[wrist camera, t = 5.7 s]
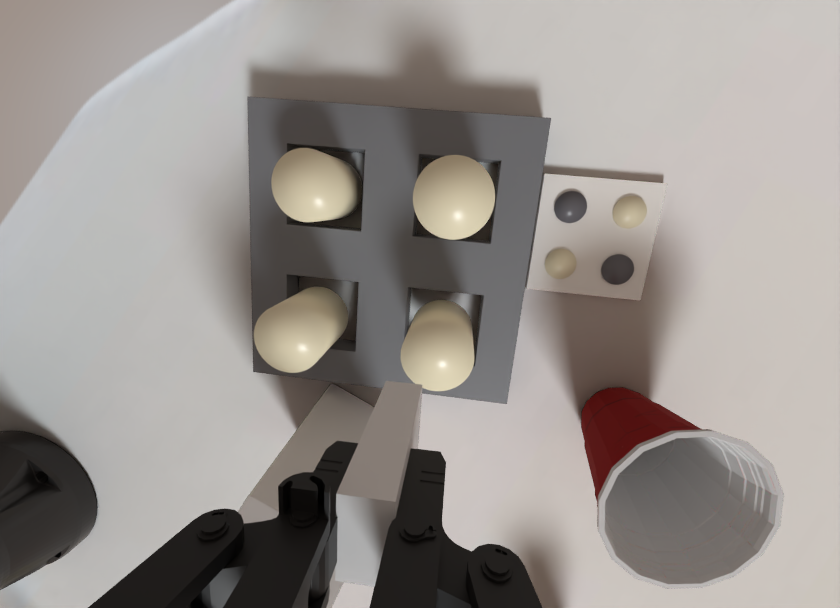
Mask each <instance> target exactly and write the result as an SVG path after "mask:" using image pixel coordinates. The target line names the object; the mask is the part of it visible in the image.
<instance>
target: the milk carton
mask: <svg viewBox="0 0 840 608" xmlns="http://www.w3.org/2000/svg"><path fill="white" fill-rule="evenodd" d="M373 409H374V407H373V406H371V405H369V404H368V403H366V402H364V401H362V400H361V399H359V398H357V397H356V396H354V395H352V394H350V393H349V392H347V391H345V390H343V389H342V388H340V387H338V386H336V385H334V384H330V385H329V387H328V388H327V390H326V391H325V392H324V394H323V395H322V396H321V398H320V399H319V400H318V402H317V403H316V404H315V406H314V407H313V409H312V410H311V411H310V413H309V414H308V415H307V417H306V418H305V419H304V421H303V422H302V424H301V425H300V426H299V428H298V429H297V430H296V432H295V433H294V434H293V436H292V437H291V439H290V440H289V441H288V443H287V444H286V445H285V447H284V448H283V449H282V451H281V452H280V453H279V455H278V456H277V458H276V459H275V460H274V462H273V463H272V464H271V466H270V467H269V468H268V470H267V471H266V473H265V474H264V475H263V477H262V478H261V479H260V481H259V482H258V483H257V485H256V486H255V488H254V489H253V490H252V492H251V493H250V494H249V496H248V497H247V498H246V500H245V502H244V503H243V505H242V506H241V508H240V509H239V511H238V513H239V514H241V516H242V519H243V521H244V524H245V523H253V522H261V521H266V520H271V519H274V518H276V517H277V516H278V514H279V501H278V486H279V485H280V484H281V483H282V481H283V480H285V479H286V478H288V477H290V476H292V475H295V474H298V473H302V472H313V471H314V470H315V468H316V466H317V464H318V462H319V461H320V459H321V457H322V455H323V454H324V452H325V450H326V449H327V448H328V447H329V446H331V445H332V444H333V443H335V442H336V441H345V442H353V443H359V441H360V439H361V437H362V434H363V432H364V430H365V427H366V425H367V423H368V421H369V418H370V416H371V414H372V412H373ZM343 583H344V582H340V581H335V569H334V572H333V575H332V577H331V580H330V594H329V601H328V604H327V607H326V608H332V606H333V604H334V602H335V599H336V597H337V595H338V593H339V591H340V589H341V587H342V585H343Z"/></svg>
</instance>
